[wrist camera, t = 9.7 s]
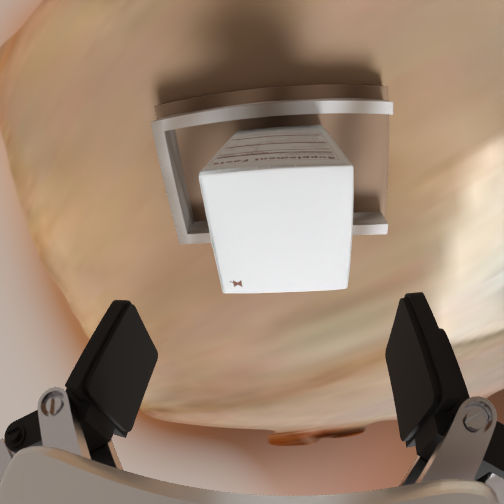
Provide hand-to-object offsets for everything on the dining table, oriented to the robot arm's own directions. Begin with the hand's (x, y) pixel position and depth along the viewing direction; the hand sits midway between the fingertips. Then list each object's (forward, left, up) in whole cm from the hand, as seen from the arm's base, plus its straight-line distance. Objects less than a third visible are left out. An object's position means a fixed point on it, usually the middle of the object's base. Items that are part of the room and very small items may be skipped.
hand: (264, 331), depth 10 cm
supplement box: (0, 0, -19) cm, 19 cm away
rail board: (0, 0, -20) cm, 20 cm away
